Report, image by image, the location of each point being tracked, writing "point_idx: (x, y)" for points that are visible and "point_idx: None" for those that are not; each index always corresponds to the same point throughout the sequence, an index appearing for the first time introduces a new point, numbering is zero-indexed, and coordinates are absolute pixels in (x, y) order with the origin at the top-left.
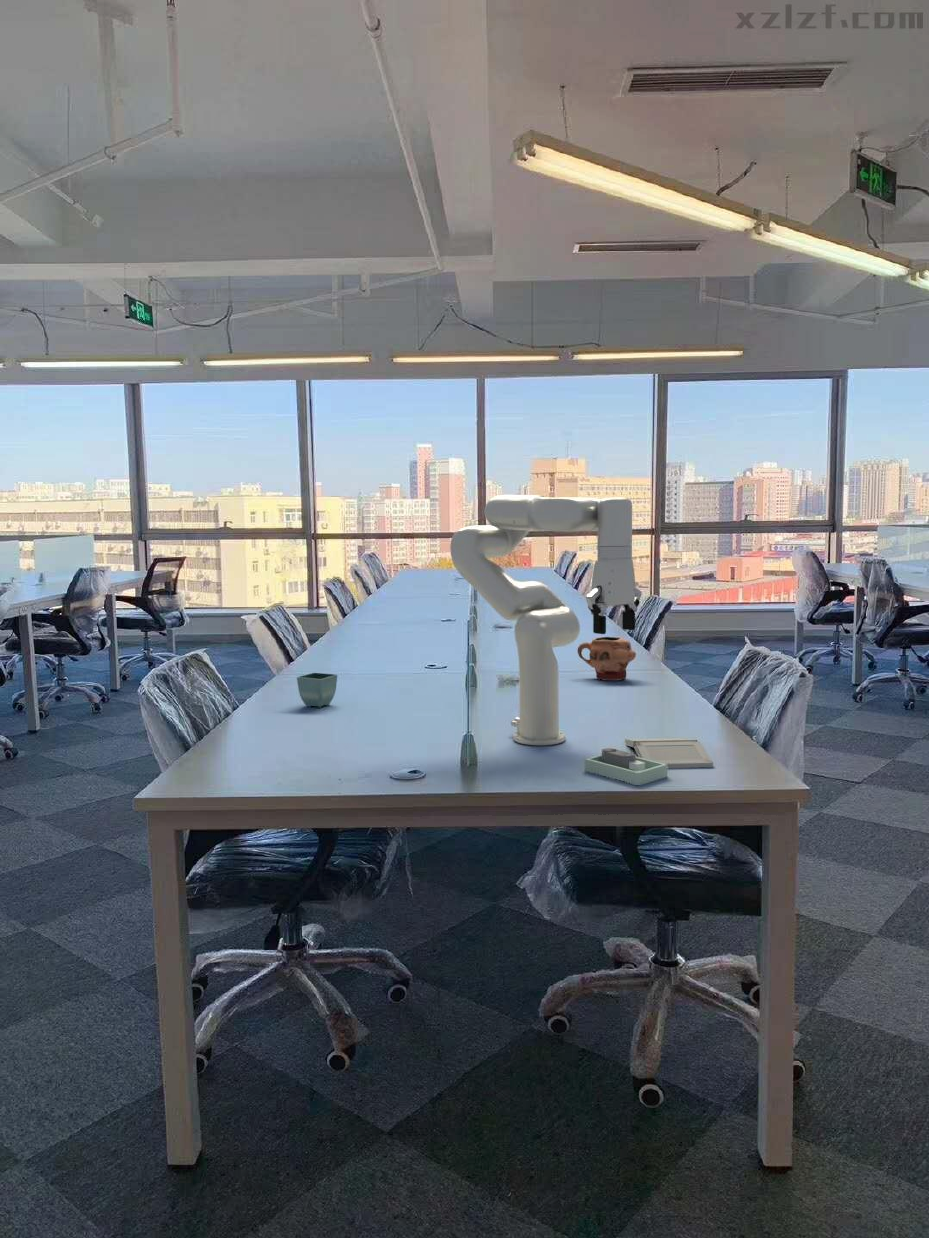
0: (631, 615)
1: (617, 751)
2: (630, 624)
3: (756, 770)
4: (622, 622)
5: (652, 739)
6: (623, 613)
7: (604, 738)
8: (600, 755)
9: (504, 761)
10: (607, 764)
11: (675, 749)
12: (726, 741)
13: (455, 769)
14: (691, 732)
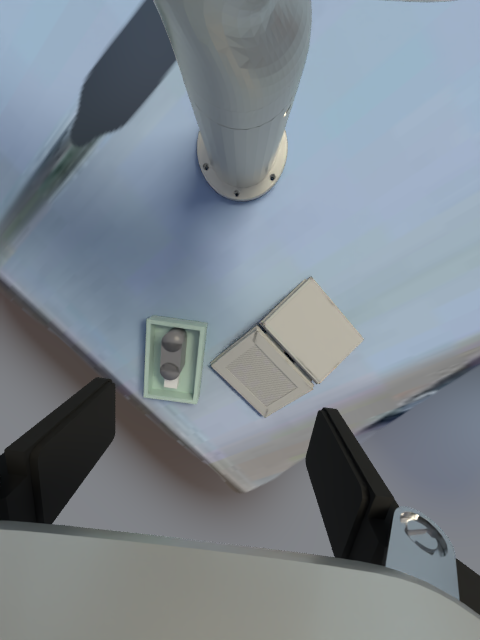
0: (332, 537)
1: (173, 353)
2: (316, 472)
3: (281, 448)
4: (331, 431)
5: (314, 320)
6: (357, 491)
7: (312, 238)
8: (175, 324)
9: (108, 199)
10: (147, 354)
11: (271, 375)
12: (388, 378)
13: (26, 168)
14: (416, 321)
